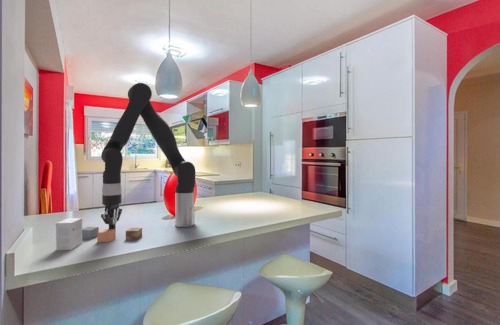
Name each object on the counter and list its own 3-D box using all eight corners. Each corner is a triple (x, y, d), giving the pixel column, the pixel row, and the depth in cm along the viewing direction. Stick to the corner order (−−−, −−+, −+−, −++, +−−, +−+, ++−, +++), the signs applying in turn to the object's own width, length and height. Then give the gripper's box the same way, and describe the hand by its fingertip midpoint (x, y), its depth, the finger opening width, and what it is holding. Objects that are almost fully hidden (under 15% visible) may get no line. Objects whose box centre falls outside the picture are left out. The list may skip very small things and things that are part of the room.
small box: (68, 243, 107) (68, 217, 106) (82, 243, 107) (82, 217, 107) (55, 250, 99) (55, 223, 98) (71, 250, 99) (70, 222, 99)
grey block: (98, 235, 117) (98, 227, 117) (91, 239, 112) (91, 230, 112) (88, 235, 118) (87, 226, 117) (80, 239, 113) (79, 229, 112)
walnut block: (142, 236, 117) (142, 227, 117) (137, 240, 112) (137, 231, 112) (130, 236, 117) (130, 227, 117) (125, 240, 112) (125, 230, 112)
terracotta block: (115, 238, 113) (115, 229, 113) (108, 242, 108) (108, 232, 108) (104, 238, 114) (104, 229, 113) (97, 241, 109) (97, 232, 108)
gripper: (111, 195, 108) (112, 237, 108) (128, 191, 121) (128, 228, 122) (94, 195, 108) (94, 236, 109) (112, 191, 121) (112, 228, 122)
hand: (112, 232), depth 115 cm, fingers closed
